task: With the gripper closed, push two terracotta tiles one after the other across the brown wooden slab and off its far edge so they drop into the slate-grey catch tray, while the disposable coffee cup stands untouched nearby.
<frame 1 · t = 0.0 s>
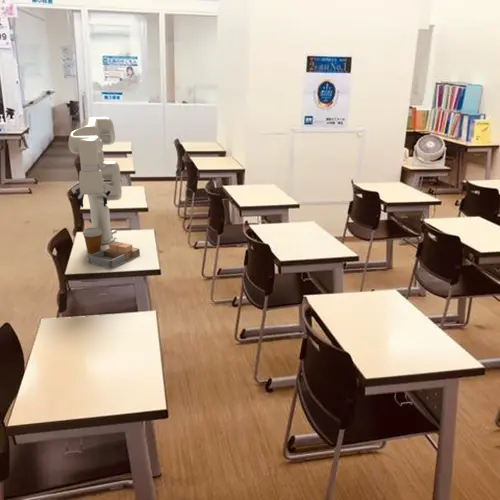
hand: (93, 206, 238), 31 cm above the table, tool pointing down, fingers open, 9 cm apart
tile b: (125, 250, 266), point 3 cm above the table, touching brown wooden slab
catch tray: (107, 261, 261), on the table
disposable coffee cup: (94, 253, 273), on the table
tile a: (116, 249, 269), point 3 cm above the table, touching brown wooden slab
brown wooden slab: (122, 255, 269), on the table
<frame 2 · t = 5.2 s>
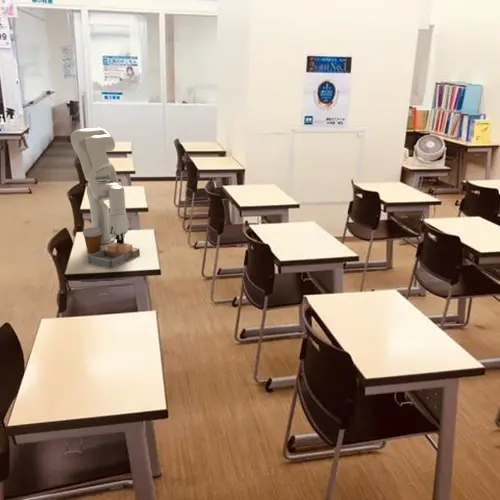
hand: (120, 246, 271), 4 cm above the table, tool pointing down, fingers closed
tile a: (114, 250, 267), point 3 cm above the table, touching brown wooden slab, gripper
everything else where it was.
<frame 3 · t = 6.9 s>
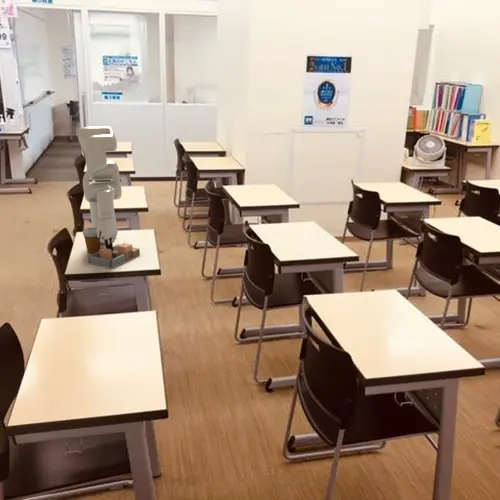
hand: (109, 251, 264), 4 cm above the table, tool pointing down, fingers closed
tile a: (107, 253, 263), point 3 cm above the table, tilted 96°, touching catch tray, gripper
everything else where it was.
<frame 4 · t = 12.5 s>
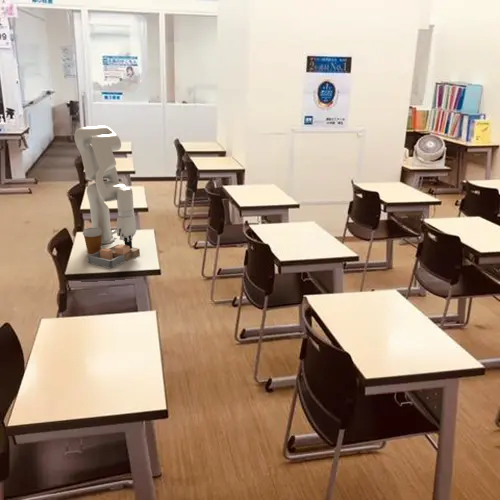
hand: (128, 248, 268), 4 cm above the table, tool pointing down, fingers closed
tile b: (122, 252, 265), point 3 cm above the table, touching gripper
tile a: (108, 253, 263), point 3 cm above the table, tilted 90°, touching catch tray
everything else where it was.
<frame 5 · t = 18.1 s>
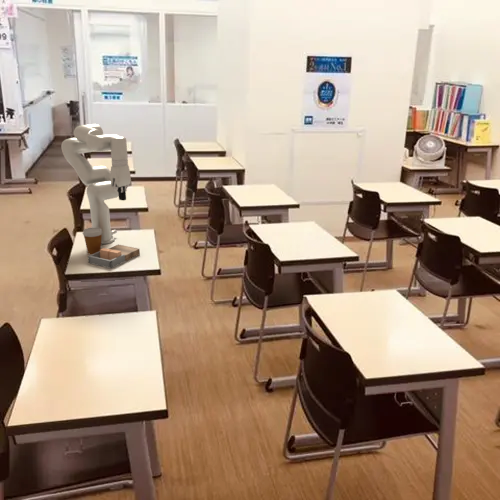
hand: (122, 199, 265), 27 cm above the table, tool pointing down, fingers closed
tile b: (117, 255, 261), point 3 cm above the table, tilted 90°, touching catch tray
everything else where it was.
at the end: tile a inside the target area (4.5 cm from its centre), point 2.9 cm above the table; tile b inside the target area (5.4 cm from its centre), point 2.9 cm above the table; tile b touching catch tray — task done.
